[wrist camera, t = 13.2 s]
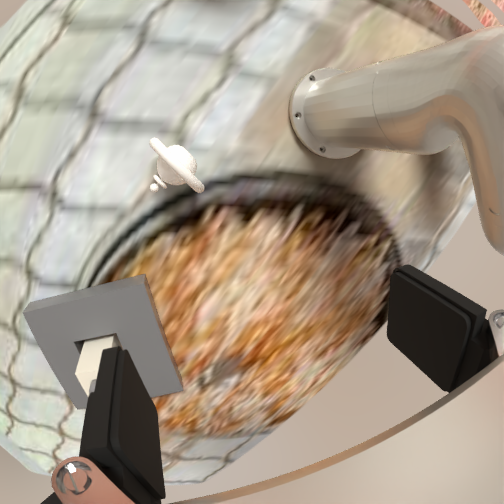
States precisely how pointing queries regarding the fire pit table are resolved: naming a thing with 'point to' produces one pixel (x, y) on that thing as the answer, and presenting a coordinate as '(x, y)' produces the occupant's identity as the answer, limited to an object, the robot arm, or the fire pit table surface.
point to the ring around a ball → (174, 167)
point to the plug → (93, 359)
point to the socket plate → (104, 333)
